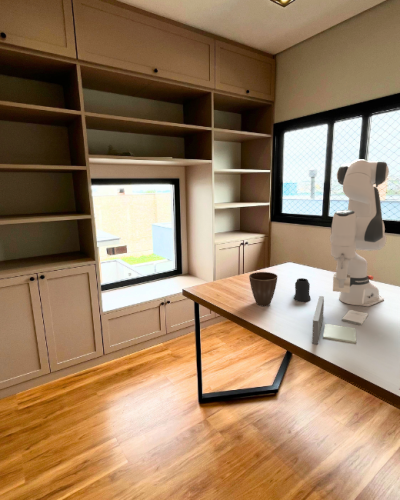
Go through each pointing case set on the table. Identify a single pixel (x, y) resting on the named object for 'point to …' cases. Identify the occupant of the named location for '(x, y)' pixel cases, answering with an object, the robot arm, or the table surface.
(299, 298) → the mug
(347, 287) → the letter cube
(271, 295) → the plant pot
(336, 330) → the pad
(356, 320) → the external hard drive
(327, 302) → the table surface
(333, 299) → the table surface
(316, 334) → the screen
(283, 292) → the table surface
